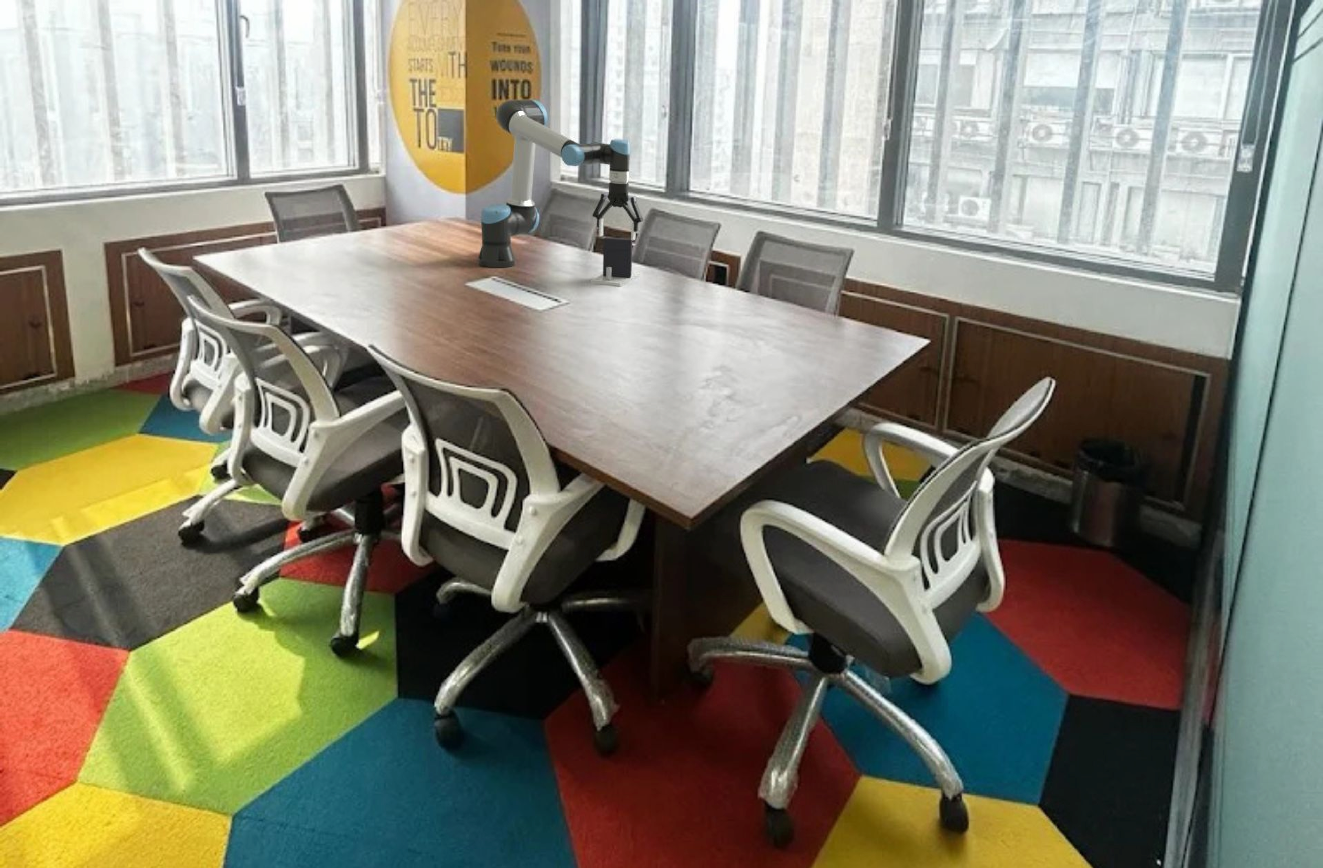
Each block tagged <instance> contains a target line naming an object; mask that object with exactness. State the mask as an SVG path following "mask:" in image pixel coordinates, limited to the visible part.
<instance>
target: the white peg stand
mask: <svg viewBox="0 0 1323 868" xmlns="http://www.w3.org/2000/svg"><path fill="white" fill-rule="evenodd" d="M611 270H612V267H606V276H603V274H601V275H599V276H596V277H595V278H592V279H591V280H590V281H591V284H598V285H604V286H612V287H622V286H624V285H626V284H628V283H630V282H632V281H633V280H635V279H638V278H639V277H641V276H640V275H642V273H641V272H638V271H632V272H631V277H630V278H622V277H611Z"/></svg>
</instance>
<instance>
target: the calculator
mask: <svg viewBox="0 0 1323 868" xmlns="http://www.w3.org/2000/svg"><path fill="white" fill-rule="evenodd" d="M602 242H603V243H602V249H603V252H602V253H603V257H602V258H603V259H602V260H603V262H602V264H603V265H602V275H603V276H606V267H612V270H611V277H622V278H630V277H631V272H633V271H632V268H633V267H632V265H633V241H632V240H631V237H630V238H628V237H627V238H626V237H613V236H612V237H611V236H605V237H604V238H603V241H602Z"/></svg>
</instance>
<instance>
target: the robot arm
mask: <svg viewBox="0 0 1323 868" xmlns="http://www.w3.org/2000/svg"><path fill="white" fill-rule="evenodd" d="M495 117H496V122H497V124H498V125H499V128H501V129H502V130H504V131H505V132H507V133H508V134H510V135H512V136H513V138H514V145H513V156H512V157H513V159H512V172H511V173H512V174H511V186H510V187H511V188H510V197H509V198H508V199H506V203H505V204H492V205H491V204H490V205H487V206H485V207H484V208H482V210H481V213H480V214H481V217H480V223H481V225H480V227H481V244H482V245H481V248H480V251H479V255H478V257H477V258H478V259H477V261H478V262H477V264H478V265H479V266H481V267H482V266H483V267H485V268H486V267H487V268H509V267H512V266H515V265H516V257H515V254H514V252H513V248H512V242H511V241H512V240H511V237H513V236H514V237H515V236H521V235H523V236H524V235H527V234H529V233H530V234H531V233H532V232H534V231H535V230H536V229H538V228H537V227H538V225H539V222H540V213H539V212H538V209H537V208H536V205H535V204H536V203H535V201H533V199H532V196H533V184H534V173H535V171H534V170H535V169H534V168H535V161H536V160H535V159H536V148H537V147H536V145H537V146H539V147H541V148H543V149H544V150H547V151H548V152H550V153H552V154H554V155H555V156H557V157H559V158H561V160H562V161H563V164H565V165H567V166H569V167H571V166H572V167H577V166H586V165H596V164H600V165H601V164H602V165H609V167H608V168H609V171H608V172H609V175H608V176H609V178H608V179H609V182H608V193H606V192H603V193H600V198H599V201H598V203H597V204H596V207H595V208H594V211H593V213H592V215H591V216H592V217H593V218H595V219H596V227H597V228H598V237H603V236H604V220H605V219H604V218H603V217H604V215H606V213H608V211H609V210H610V209H611V208H612V207H614V208H616V207H617V208H623V209H624V211H625V212H626V213H627V215H628V216H629V218H630V220H632V222H631V229H630V230H631V232H630V233H631V234H630V239H631V240H632V242H633V241H635V240H636V233H637V232H638V231H639V223H642V222H643V221H644V219H643V218H644V217H643V215H642V213H641V211H640V208H639V206H638V203H637V197H636V196H629V183H628V182H629V181H630V158H631V157H630V156H631V144H630V141H629V140H626V139H611V140H610V142H609V143H604V142H603V143H602V142H599V141H588V142H586V143H579V142H576V141H574V140H572V139H570V138H569V137H566V136H565V135H563V134H561V133H559V132H557V131H555V130H554V129H552V128H549V127H547V124H548V113H547V110H546V108H545V107H544V105H543V103H541V102H540V101H538V100H535V99H509V100H505V101H503V102H502V103H500V105H499V106H498V107H497V110H496V116H495ZM607 199H608V203H606V205H605V207H604V208H603V206H604V203H605V202H606V200H607ZM628 202H629V203H630V204H631V206H632V208H633V209H632V208H631V207H630V205H629V203H628ZM602 208H603V209H602ZM601 209H602V210H601Z"/></svg>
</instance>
